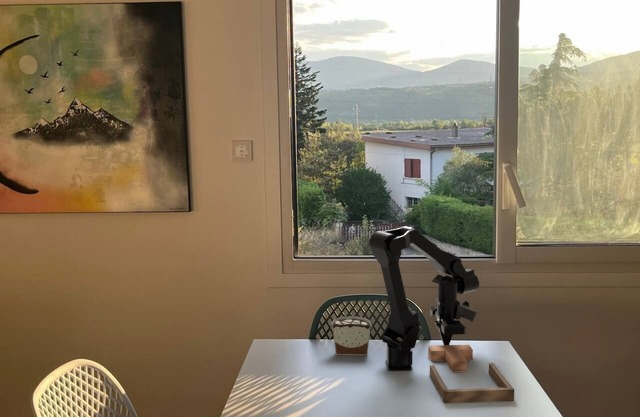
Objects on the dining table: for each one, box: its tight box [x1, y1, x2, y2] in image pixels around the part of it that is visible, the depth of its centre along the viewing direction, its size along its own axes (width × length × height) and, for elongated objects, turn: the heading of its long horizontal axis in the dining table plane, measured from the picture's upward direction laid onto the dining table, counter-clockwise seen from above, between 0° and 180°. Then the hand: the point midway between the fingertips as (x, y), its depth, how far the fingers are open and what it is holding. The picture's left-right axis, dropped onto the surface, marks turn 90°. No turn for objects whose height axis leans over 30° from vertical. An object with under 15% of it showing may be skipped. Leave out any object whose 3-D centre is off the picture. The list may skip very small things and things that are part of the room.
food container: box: [330, 316, 373, 356], centre depth 184 cm, size 12×6×10 cm, turn 84°
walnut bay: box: [429, 362, 515, 404], centre depth 158 cm, size 17×16×3 cm
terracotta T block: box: [427, 344, 474, 373], centre depth 174 cm, size 12×12×3 cm
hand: (446, 347), depth 183 cm, fingers closed
